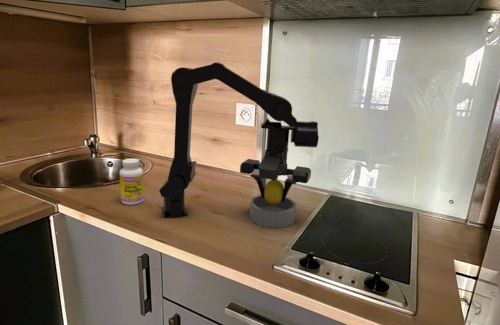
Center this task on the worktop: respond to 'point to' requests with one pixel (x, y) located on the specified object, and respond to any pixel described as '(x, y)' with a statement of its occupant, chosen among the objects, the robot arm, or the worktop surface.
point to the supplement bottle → (131, 182)
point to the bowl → (272, 212)
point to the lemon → (273, 192)
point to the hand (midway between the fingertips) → (273, 199)
